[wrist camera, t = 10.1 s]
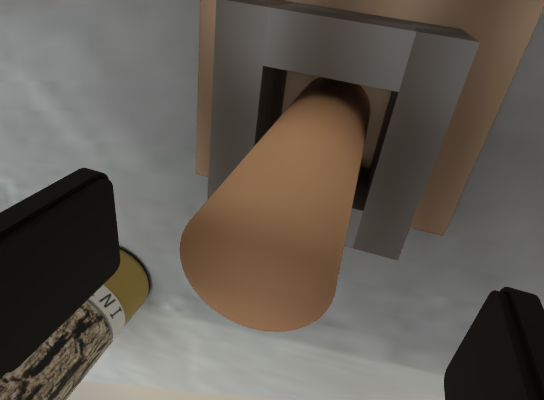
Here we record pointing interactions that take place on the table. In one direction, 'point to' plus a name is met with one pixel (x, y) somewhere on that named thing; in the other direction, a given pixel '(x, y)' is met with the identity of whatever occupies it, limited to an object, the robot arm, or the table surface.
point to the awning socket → (378, 86)
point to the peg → (283, 214)
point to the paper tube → (79, 338)
